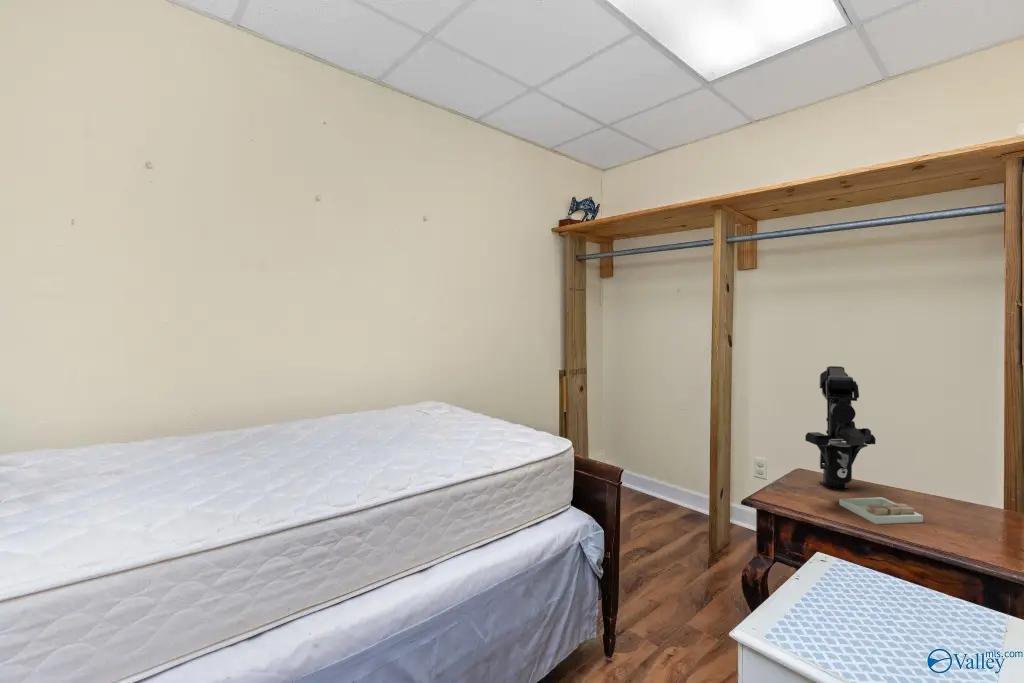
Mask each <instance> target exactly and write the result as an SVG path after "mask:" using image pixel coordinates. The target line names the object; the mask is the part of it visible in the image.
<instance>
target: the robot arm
mask: <svg viewBox="0 0 1024 683" xmlns="http://www.w3.org/2000/svg"><path fill="white" fill-rule="evenodd" d="M819 389H821V394H822V396H823V398H824V399H825V400H826V425H827V426H826V427H827V430H826V434H824V433H821V432H818V431H816V432H814V431H813V432H812V431H811V432H810V431H809V432H807V433H806V434H805V436H804V438H805V439H804V440H805V442H808V443H810V444H813V445H816V446H817V448H818V450H819V451H820V453H819V468H820V470H823V476H822V478H823V481H818V483H819V484H820V485H823V486H824V487H826V488H829V489H830V490H849V489H850V487H849V486H847V485H846V483H836V482H832V481H830V480H829V479H828V478H827V476H826V473H827V465H830V464H831V449H832V448H833V447H834V446H832V445H830V441H839V442H845V443H847V444H848V445H850V447H851V449H852V465H853V464H854V462H855V460H856V458H857V457H858V454H859V452H860V451H861V450H862V449H863V448H866V447H869V446H868V445H876V437H875V435H873V433H872V430H870V429H869V428H867V427H866V428H864V427H863V428H857V427H856V423H855V421H854V419H855V417H856V410H855V408H854V407H853V405H852V404H853V403H852V401H853V402H858V399H859V398H860V392H859V384H858V383H857V382H856V381H855V380H854V378H853V377H852V376H849V374H848V373H847V372H846V371H845V366H844V367H842V366H838V365H835V366H833V365H832V366H831V365H830V366H826V369H825V370H824V371H823V372H822V373H821V372H820V375H819Z"/></svg>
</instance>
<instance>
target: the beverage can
mask: <svg viewBox="0 0 1024 683" xmlns="http://www.w3.org/2000/svg"><path fill="white" fill-rule="evenodd" d="M830 445H832V446H834V447H833V448H832V449H831V464H830V465H827V473H826V476H827V478H828V479H829V480H830V481H832V482H836V483H845V484H849V483H850V482H852V480H853V479H852V478H853V476H852V475H853V464H852V449H851V447H850V445H848V444H847V443H846V442H845V441H842V442H839V441H830Z"/></svg>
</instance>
